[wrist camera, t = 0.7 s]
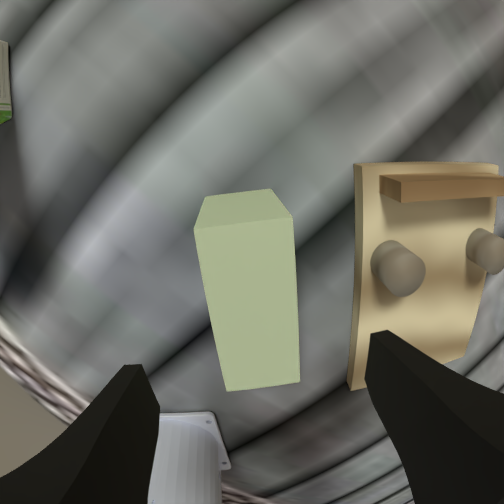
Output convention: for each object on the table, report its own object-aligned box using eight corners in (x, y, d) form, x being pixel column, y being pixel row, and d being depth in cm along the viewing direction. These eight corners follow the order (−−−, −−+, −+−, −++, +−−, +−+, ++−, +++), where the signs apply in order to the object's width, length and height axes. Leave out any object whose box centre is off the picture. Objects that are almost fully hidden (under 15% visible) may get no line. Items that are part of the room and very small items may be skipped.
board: (457, 348, 22) (477, 372, 19) (346, 380, 22) (360, 413, 19) (487, 163, 17) (522, 172, 13) (353, 163, 16) (382, 172, 13)
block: (281, 315, 20) (299, 381, 14) (225, 323, 19) (226, 391, 14) (270, 188, 17) (292, 217, 11) (205, 196, 17) (193, 229, 11)
